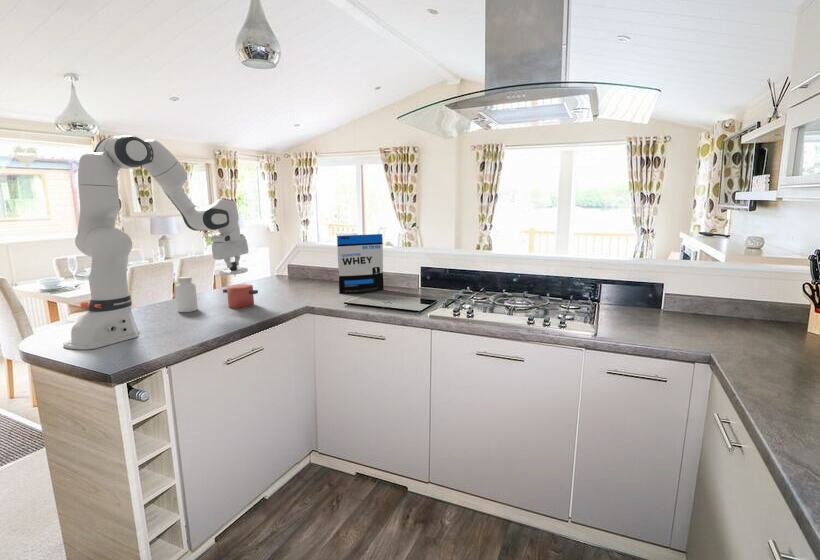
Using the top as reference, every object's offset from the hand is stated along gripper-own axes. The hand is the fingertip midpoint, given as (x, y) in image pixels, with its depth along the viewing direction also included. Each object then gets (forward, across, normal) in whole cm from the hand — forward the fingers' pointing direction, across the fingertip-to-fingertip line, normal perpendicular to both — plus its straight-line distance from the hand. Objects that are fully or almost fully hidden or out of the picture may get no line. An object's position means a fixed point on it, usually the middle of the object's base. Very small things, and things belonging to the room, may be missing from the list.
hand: (233, 266), depth 194 cm
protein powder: (+20, -44, +44) cm, 65 cm away
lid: (+2, 0, 0) cm, 2 cm away
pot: (+19, -2, +1) cm, 19 cm away
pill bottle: (+18, +11, -17) cm, 28 cm away
